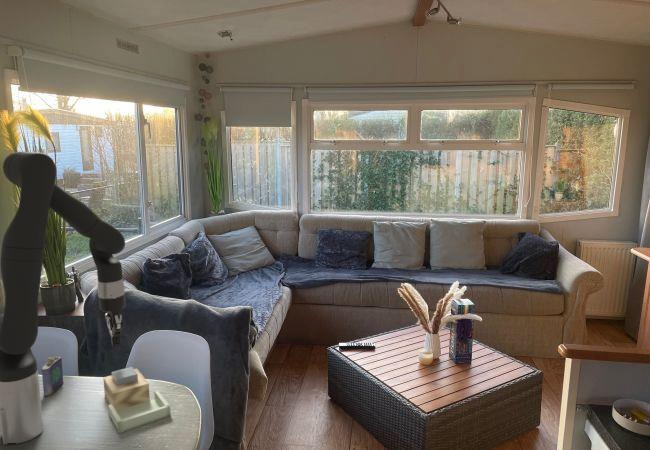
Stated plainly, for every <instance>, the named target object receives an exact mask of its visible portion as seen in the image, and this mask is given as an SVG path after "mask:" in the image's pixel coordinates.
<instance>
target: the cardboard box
mask: <svg viewBox="0 0 650 450" xmlns="http://www.w3.org/2000/svg"><path fill="white" fill-rule="evenodd" d="M133 369H134V370H135V371H136V373H137V374H138V380H137V381H133V382H130V383H126V384H122V385H119V386H117V385H116V384H115V382H114V381H113V379H112V374H111V375H108V376H104V377H102V378H103V391H104V392H103V393H104V397H105V399H106V400H107V403H108V405H110V404H112V405H113V407H114V408H115V410H116V411H117V410H121V409H124V408H127V407H130V406H133V405H137V404H140V403H143V402H146V401H149V400H150V383H149V382H148V381H147V380H146V378H145V376H144V375H143V374H142V373H141V371H140V370H139V369H138V368H133Z"/></svg>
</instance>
